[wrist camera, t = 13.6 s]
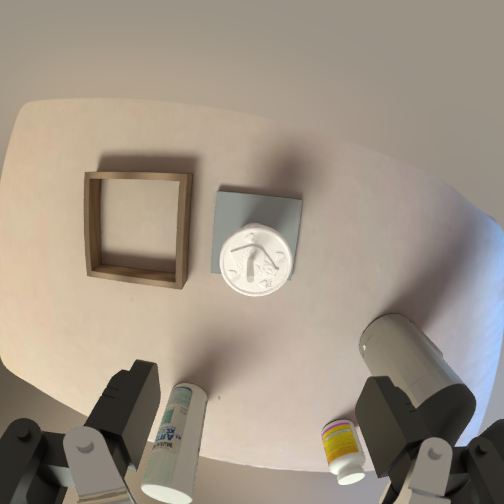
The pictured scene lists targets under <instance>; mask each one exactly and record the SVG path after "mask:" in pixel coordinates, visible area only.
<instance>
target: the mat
mask: <svg viewBox="0 0 504 504" xmlns="http://www.w3.org/2000/svg"><path fill="white" fill-rule="evenodd" d="M301 207H302V200H300V199H292V198H284V197H275V196H266V195H257V194H247V193H237V192H225V191H217V195H216V206H215V219H214V232H213V246H212V261H211V273H217V274H222V273H221V269H220V253H221V250H222V247H223V244H224V243H225V241H226V240H227V238H228V237H229V236H230V235H231V234H232V233H233V232H235V231H236V230H238V229H240V228H242V227H244V226H245V225H247V224H249V223H260V224H262V225H264V226H267V227H270V228H273V229H274V230H276V231H277V232H279V233H280V234H281V235H282V236H283V237H284V238H285V240H286V241H287V243H288V245H289V247H290V250H291V254H292V269H291V272H290V275H289V277H288V279H287V280H291V277H292V270H293V264H294V257H295V251H296V244H297V237H298V230H299V222H300V215H301Z"/></svg>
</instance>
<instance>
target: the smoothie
mask: <svg viewBox="0 0 504 504" xmlns="http://www.w3.org/2000/svg"><path fill="white" fill-rule="evenodd" d="M220 269H221V273H222V275H223V278H224V279H225V281H226V282H227V283H228V285H229V286H230V287H232V288H233V289H234V290H236V291H237V292H239V293H241V294H244V295H248V296H263V295H267V294H270V293H272V292H274V291H276V290H277V289H279V288H280V287H281V286H282V285H283V284H284V283H285V282H286V280H287V279H288V277H289V275H290V272H291V269H292V254H291V250H290V247H289V245H288V243H287V241H286V240H285V238H284V237H283V236H282V235H281V234H280V233H279V232H277V231H276V230H274V229H273V228H270V227H267V226H264V225H262V224H260V223H249V224H247V225H245V226H244V227H242V228H240V229H238V230H236V231H235V232H233V233H232V234H231V235H230V236H229V237H228V238H227V240H226V241H225V243H224V244H223V247H222V250H221V253H220Z"/></svg>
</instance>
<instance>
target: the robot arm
mask: <svg viewBox="0 0 504 504" xmlns="http://www.w3.org/2000/svg"><path fill="white" fill-rule="evenodd" d="M359 350H360V353H361V356H362V357H363V359H364V361H365V363H366V365H367V367H368V368H369V370H370V372H371V374H372V377H369V378H368V379H367V381H366V383H365V386H364V388H363V390H362V392H361V395H360V397H359V399H358V401H357V404H356V408H355V414H356V418H357V421H358V424H359V426H360V429H361V432H362V434H363V437H364V440H365V443H366V445H367V448H368V451H369V454H370V457H371V459H372V462H373V465H374V468H375V471H376V474H377V476H378V478H382V477H386V476H389V477H390V481H389V482H388V484H387V486H386V488H385V490H384V492H383V494H382V497H381V499H380V501H379V503H378V504H504V419H500V420H497V421H496V422H495V423H493V424H492V425H491V426H490V427H489V428H487V430H485V431H484V432H483V433H482V434H481V435H480V436H478V437H475V438H473V439H472V440H471V441H470V443H469V444H468V445H467V446H465V447H454V446H455V444H456V442H457V440H458V439H459V437H460V435H461V434H462V432H463V431H464V430H465V428H466V427H467V425H468V423H469V422H470V420H471V419H472V417H473V415H474V412H475V409H476V399H475V396H474V395H473V393H472V392H471V391H470V390H469V388H468V387H467V386H466V385H465V384H464V382H463V381H462V380H461V379H460V378H459V376H458V375H457V374H456V373H455V372H454V371H453V370H452V368H451V367H450V366H449V365H448V364H447V363H446V361H445V360H444V359H443V353H442V352H441V351H440V350H439V349H438V348H437V346H436V345H435V344H434V343H433V342H432V341H431V340H430V339H429V338H428V337H427V336H426V335H425V333H424V332H423V331H422V330H421V329H420V328H419V327H418V326H417V325H416V324H415V323H414V322H409V321H408V320H407V318H406V317H404V316H403V315H400V314H388V315H385V316H382V317H380V318H378V319H377V320H375V321H374V322H373V323H371V324H370V325H369V327H368V328H367V329H366V330H365V332H364V333H363V335H362V337H361V340H360V344H359ZM160 397H161V392H160V384H159V375H158V367H157V364H156V363H154V362H148V361H143V360H138V359H137V360H136V361H135V362H134V364H133V366H132V367H131V369H130V371H127V370H123V369H122V370H121V371H119V372H118V373H117V374H115V375H114V376H112V378H111V380H110V381H109V383H108V385H107V388H105V390H104V391H103V393H102V396H100V398H99V400H98V402H97V403H96V405H95V407H94V408H93V410H92V412H91V414H90V415H89V417H88V419H87V421H86V423H85V424H84V425H83V426H82V427H76V428H73V429H71V430H70V431H69V432H67V434H60V433H52V432H45V431H41V429H40V427H39V426H38V424H37V423H36V422H34V421H33V420H31V419H27V418H21V419H17V420H15V421H13V422H12V423H11V424H10V425H9V426H8V428H7V429H6V431H5V433H4V434H3V436H2V437H1V439H0V504H62V503H63V500H64V497H65V494H66V492H67V489H68V487H72V488H76V490H77V493H78V496H79V501H78V502H77V503H78V504H137V502H136V500H135V498H134V497H133V495H132V493H131V491H130V489H129V487H128V485H127V483H126V481H125V479H124V477H125V474H126V471H127V469H129V470H132V471H136V472H137V469H138V466H139V463H140V460H141V457H142V454H143V451H144V448H145V445H146V442H147V439H148V436H149V433H150V430H151V427H152V425H153V422H154V419H155V416H156V413H157V410H158V407H159V404H160Z"/></svg>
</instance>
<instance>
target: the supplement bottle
mask: <svg viewBox="0 0 504 504" xmlns="http://www.w3.org/2000/svg"><path fill="white" fill-rule="evenodd" d="M321 435H322V440H323V444H324V448H325V452H326V456H327V461H328V465H329V469H330V471H331V472H332V473H333V474H336V475H338V477H337V479H338V483H339V484H341V485H347V484H352V483H355V482H357V481H359V480H361V479H362V478H363V477H364V476H365V473H364V469H363V468H362V466H363V465H364V463H365V455H364V452H363V449H362V447H361V444H360V441H359V438H358V435H357V432H356V429H355V427H354V424H353V423H352V422H351V421H349V420H337V421H334V422H332V423H330V424H328V425H327V426H326V427H325V428H324V429H323V430H322V433H321Z"/></svg>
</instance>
